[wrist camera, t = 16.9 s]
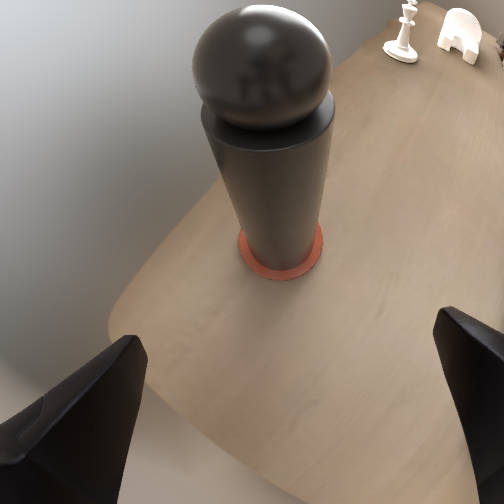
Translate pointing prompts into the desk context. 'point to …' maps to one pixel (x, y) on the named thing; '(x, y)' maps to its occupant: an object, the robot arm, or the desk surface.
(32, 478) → the robot arm
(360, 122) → the desk surface
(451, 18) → the slotted bracket
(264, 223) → the pepper mill
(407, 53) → the chess piece
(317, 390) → the desk surface
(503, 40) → the figurine
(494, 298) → the desk surface
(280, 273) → the coaster
